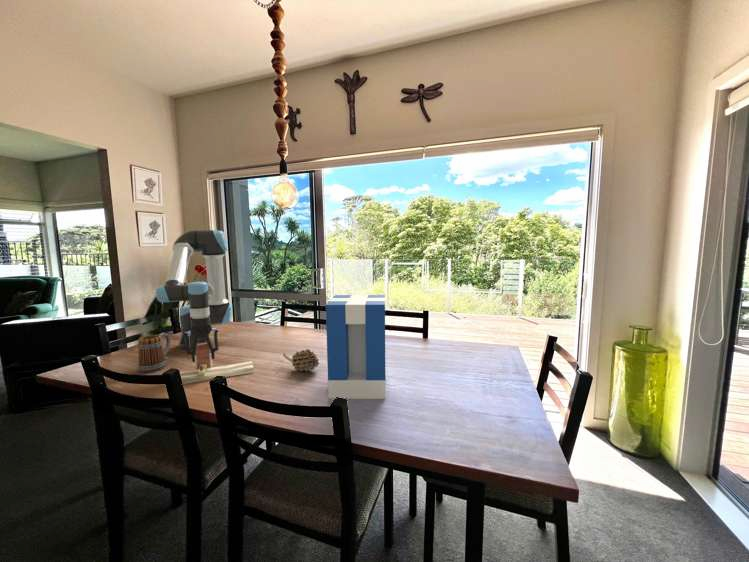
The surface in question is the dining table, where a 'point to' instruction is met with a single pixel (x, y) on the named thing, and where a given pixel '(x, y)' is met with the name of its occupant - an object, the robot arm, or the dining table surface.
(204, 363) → the block
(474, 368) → the dining table surface
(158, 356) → the mug
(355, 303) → the toy block
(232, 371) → the board
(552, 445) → the dining table surface
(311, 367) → the pine cone
